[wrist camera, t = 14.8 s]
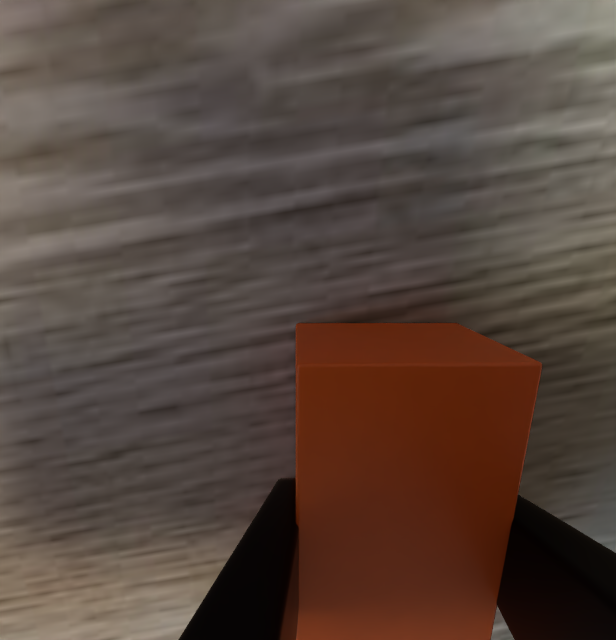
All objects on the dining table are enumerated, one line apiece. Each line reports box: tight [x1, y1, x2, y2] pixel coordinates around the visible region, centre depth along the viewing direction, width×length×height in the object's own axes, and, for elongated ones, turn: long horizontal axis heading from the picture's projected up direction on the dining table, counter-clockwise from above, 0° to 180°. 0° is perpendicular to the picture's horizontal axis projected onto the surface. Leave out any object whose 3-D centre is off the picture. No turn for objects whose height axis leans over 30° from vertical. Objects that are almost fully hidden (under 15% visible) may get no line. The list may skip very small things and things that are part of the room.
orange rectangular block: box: [296, 323, 542, 640], centre depth 6 cm, size 4×7×2 cm, turn 0°
